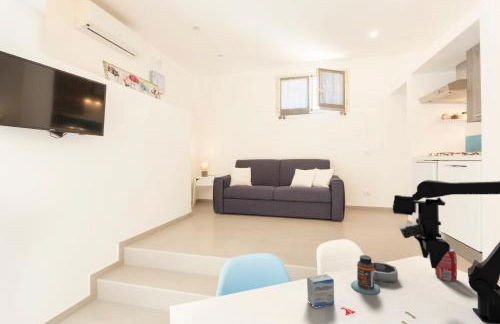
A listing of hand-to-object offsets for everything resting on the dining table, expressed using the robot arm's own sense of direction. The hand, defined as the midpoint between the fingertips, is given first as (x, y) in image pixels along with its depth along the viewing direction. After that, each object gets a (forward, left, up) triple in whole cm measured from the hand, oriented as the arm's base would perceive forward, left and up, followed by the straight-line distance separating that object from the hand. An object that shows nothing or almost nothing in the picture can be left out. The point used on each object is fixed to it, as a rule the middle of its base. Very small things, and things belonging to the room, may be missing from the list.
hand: (429, 262), depth 85 cm
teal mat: (+3, +20, -13) cm, 24 cm away
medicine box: (-13, +35, -13) cm, 40 cm away
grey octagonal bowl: (+14, +13, -13) cm, 23 cm away
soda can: (+21, -11, -13) cm, 27 cm away
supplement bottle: (+3, +20, -13) cm, 24 cm away
